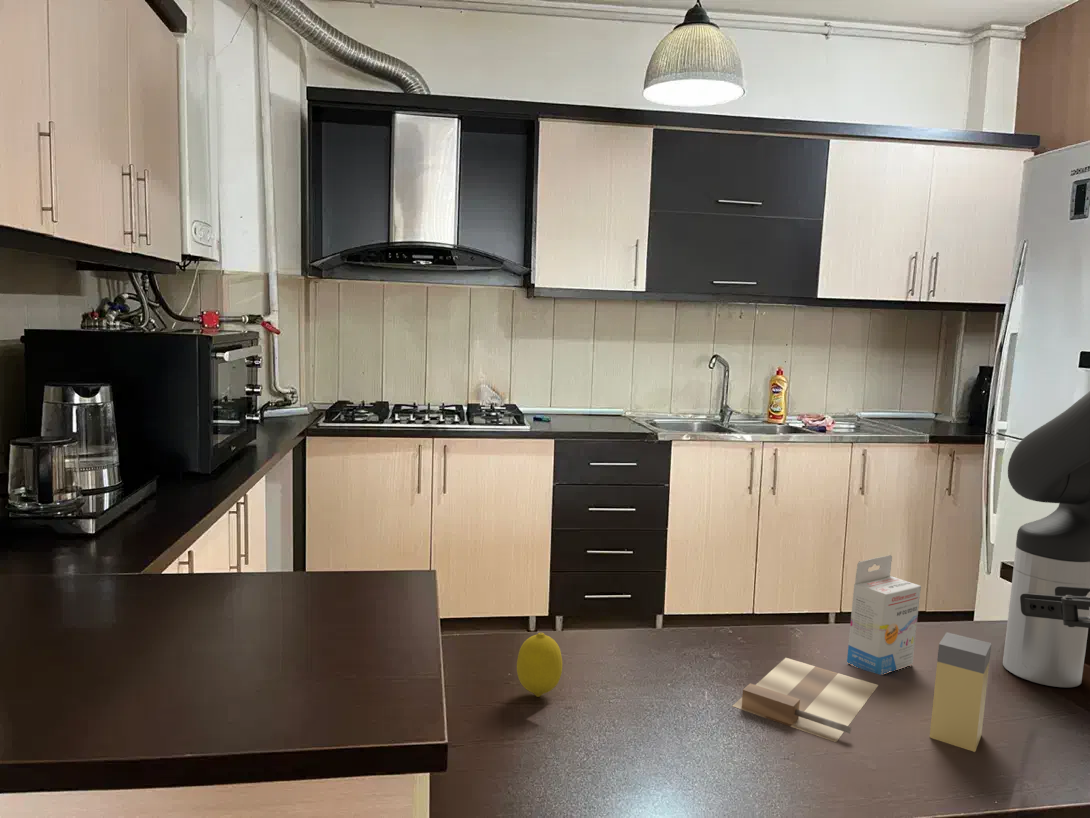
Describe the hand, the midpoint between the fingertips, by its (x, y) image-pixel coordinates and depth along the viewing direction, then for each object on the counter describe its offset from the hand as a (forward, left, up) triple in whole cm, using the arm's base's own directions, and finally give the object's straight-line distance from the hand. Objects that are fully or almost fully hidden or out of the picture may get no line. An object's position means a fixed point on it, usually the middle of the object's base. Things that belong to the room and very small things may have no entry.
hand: (1039, 600), depth 80 cm
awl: (+9, -22, -17) cm, 30 cm away
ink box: (-17, -18, -19) cm, 31 cm away
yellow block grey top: (0, -6, -19) cm, 20 cm away
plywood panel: (+2, -22, -19) cm, 29 cm away
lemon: (+22, -48, -19) cm, 56 cm away
